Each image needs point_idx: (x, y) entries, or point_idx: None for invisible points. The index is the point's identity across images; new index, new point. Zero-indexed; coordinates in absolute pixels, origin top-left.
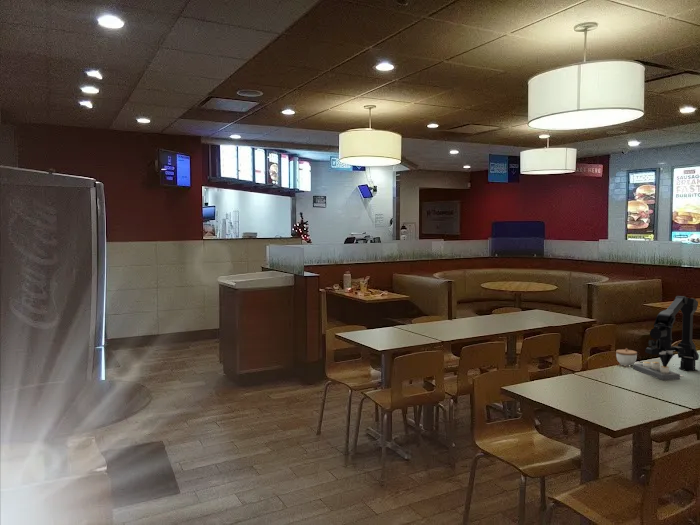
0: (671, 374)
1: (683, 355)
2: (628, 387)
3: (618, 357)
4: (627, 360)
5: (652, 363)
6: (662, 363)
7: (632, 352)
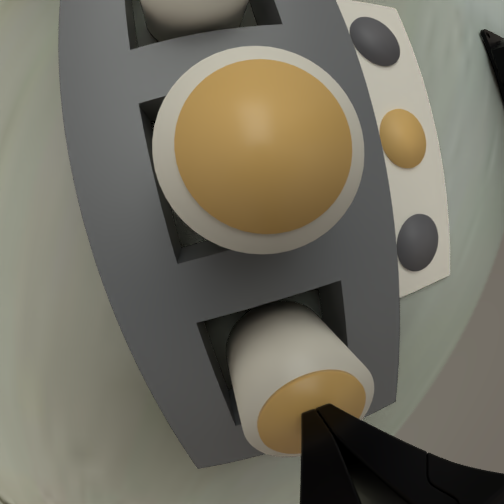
0: None
1: None
2: (8, 497)
3: None
4: None
5: (160, 177)
6: (302, 454)
7: None
